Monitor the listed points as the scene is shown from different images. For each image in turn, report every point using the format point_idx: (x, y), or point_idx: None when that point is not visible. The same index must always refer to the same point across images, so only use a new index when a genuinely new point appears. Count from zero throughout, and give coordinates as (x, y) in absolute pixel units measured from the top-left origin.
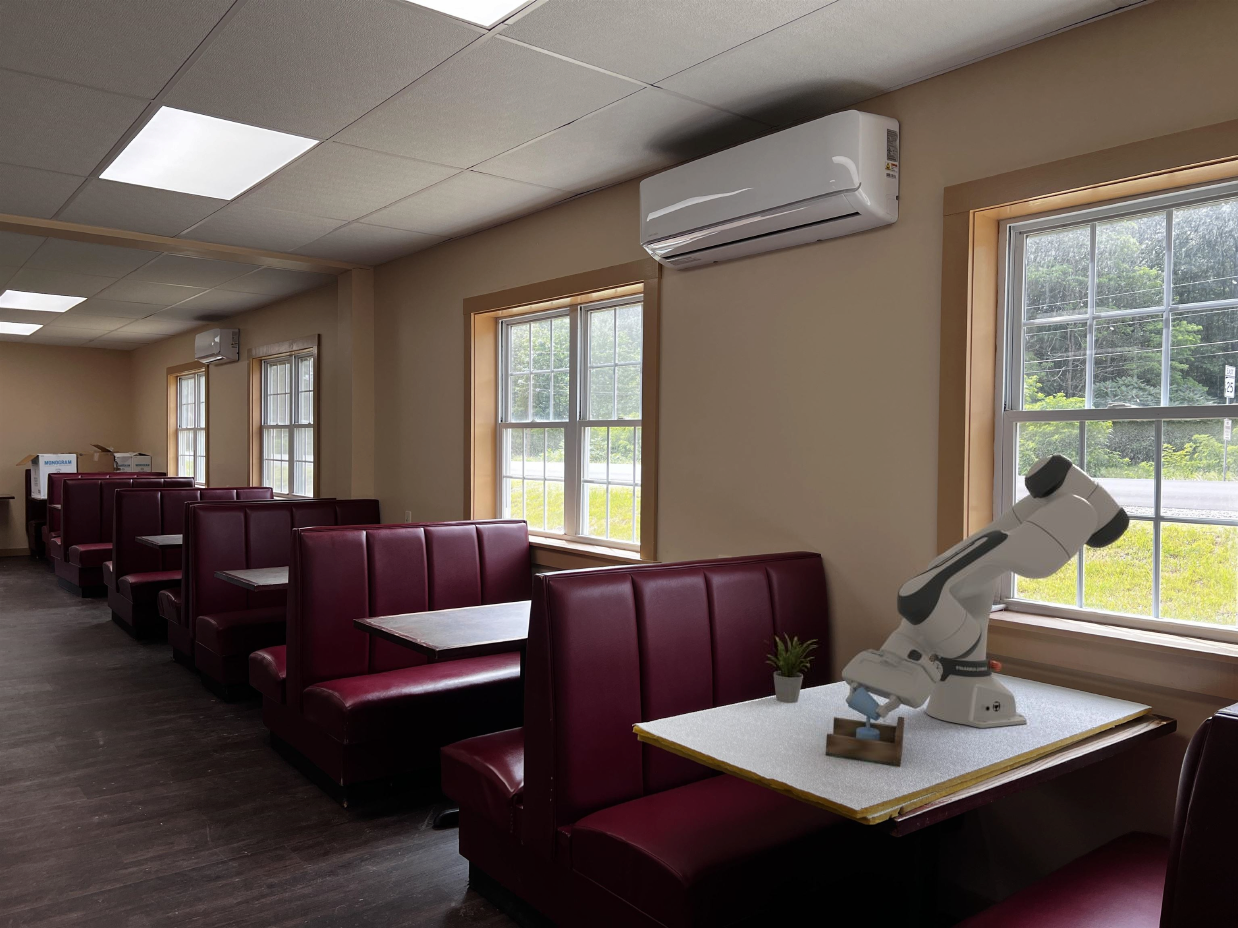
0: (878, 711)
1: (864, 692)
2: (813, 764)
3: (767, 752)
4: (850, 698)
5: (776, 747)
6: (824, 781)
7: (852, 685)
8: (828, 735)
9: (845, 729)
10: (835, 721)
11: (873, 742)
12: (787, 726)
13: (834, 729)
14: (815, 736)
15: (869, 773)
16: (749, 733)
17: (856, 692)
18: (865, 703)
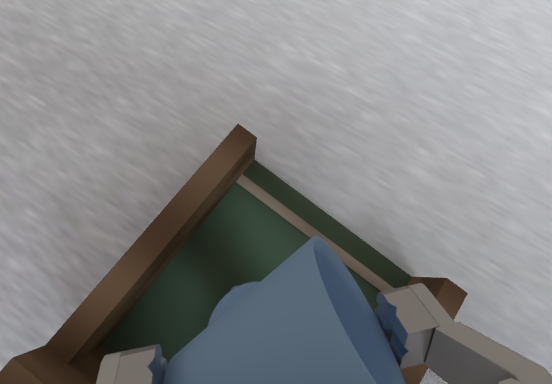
0: (124, 352)
1: (297, 353)
2: (171, 74)
3: (287, 8)
4: (312, 237)
5: (325, 50)
6: (37, 30)
7: (534, 380)
8: (233, 129)
9: None
10: (435, 284)
11: (114, 267)
12: (517, 182)
13: (419, 281)
14: (418, 220)
15: (52, 195)
16: (447, 40)
17: (308, 276)
18: (233, 315)
